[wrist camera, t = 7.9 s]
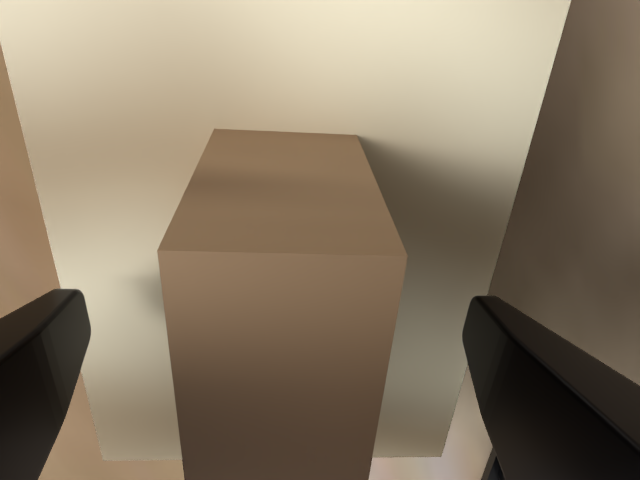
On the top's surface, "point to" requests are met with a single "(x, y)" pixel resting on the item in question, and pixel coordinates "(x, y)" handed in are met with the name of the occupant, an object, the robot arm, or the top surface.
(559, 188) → the top surface
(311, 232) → the lid
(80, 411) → the top surface
